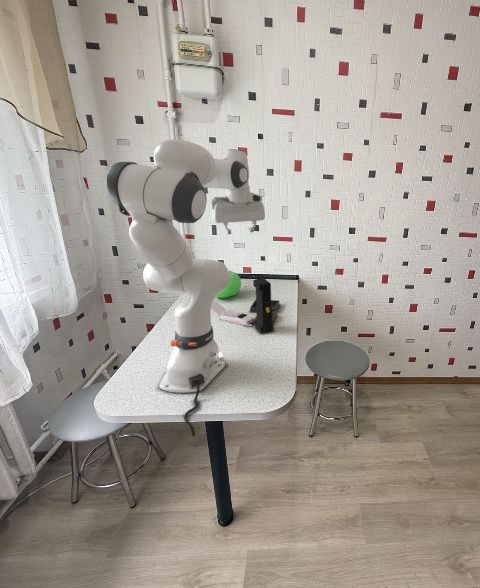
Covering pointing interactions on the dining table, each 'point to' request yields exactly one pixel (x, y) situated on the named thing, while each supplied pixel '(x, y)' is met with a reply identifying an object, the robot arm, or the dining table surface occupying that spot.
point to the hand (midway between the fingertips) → (240, 233)
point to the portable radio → (263, 305)
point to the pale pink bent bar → (231, 315)
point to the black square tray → (273, 305)
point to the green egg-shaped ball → (231, 286)
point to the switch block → (272, 316)
